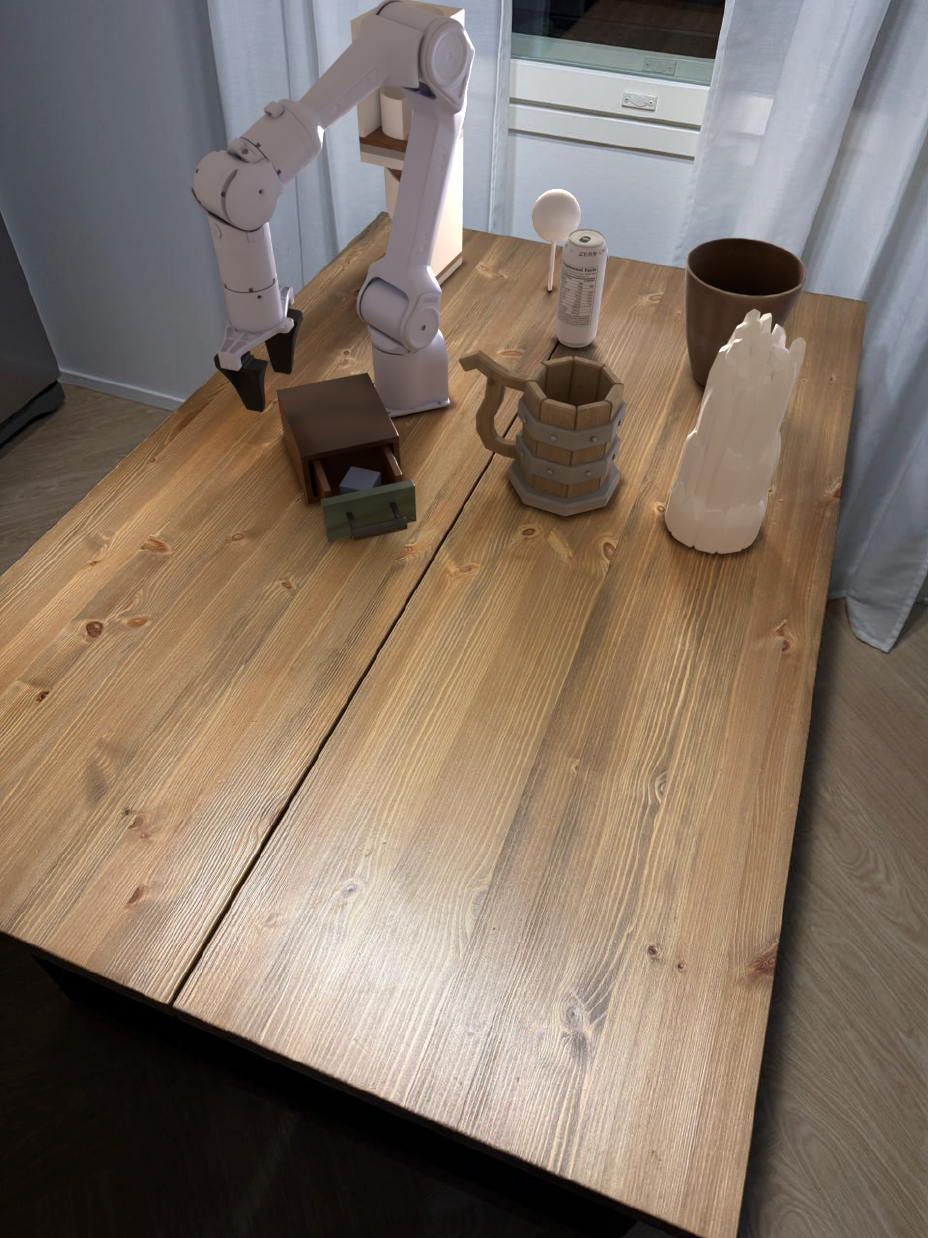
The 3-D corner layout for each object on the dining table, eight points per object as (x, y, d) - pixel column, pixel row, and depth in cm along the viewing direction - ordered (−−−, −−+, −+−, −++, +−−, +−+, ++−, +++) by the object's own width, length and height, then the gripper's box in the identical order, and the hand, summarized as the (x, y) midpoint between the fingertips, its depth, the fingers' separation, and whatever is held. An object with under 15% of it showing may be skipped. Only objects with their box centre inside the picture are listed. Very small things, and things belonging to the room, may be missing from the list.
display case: (404, 248, 147) (393, -3, 120) (462, 262, 144) (464, 8, 117) (369, 279, 140) (350, 20, 114) (429, 295, 137) (424, 33, 111)
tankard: (628, 464, 111) (648, 358, 99) (595, 527, 103) (612, 420, 92) (482, 422, 116) (485, 317, 105) (440, 479, 109) (438, 372, 97)
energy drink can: (603, 335, 130) (617, 234, 119) (582, 354, 127) (595, 252, 115) (567, 322, 132) (578, 222, 121) (546, 340, 129) (555, 239, 118)
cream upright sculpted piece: (758, 560, 100) (829, 367, 81) (662, 546, 101) (710, 352, 82) (757, 497, 107) (822, 306, 88) (667, 485, 108) (712, 293, 89)
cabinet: (401, 483, 108) (399, 436, 103) (308, 504, 105) (300, 456, 100) (371, 419, 116) (367, 372, 111) (284, 436, 114) (275, 389, 108)
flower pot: (750, 420, 117) (785, 308, 105) (646, 384, 122) (667, 274, 110) (787, 365, 125) (822, 256, 113) (688, 334, 130) (712, 227, 118)
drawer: (427, 544, 100) (426, 509, 96) (337, 566, 97) (332, 530, 93) (386, 455, 110) (383, 420, 106) (303, 473, 108) (297, 437, 104)
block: (342, 509, 102) (338, 485, 99) (353, 490, 104) (351, 465, 101) (371, 516, 101) (369, 492, 98) (382, 496, 103) (380, 471, 101)
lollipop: (573, 279, 141) (583, 181, 129) (572, 302, 136) (582, 203, 125) (528, 276, 141) (534, 179, 130) (525, 299, 136) (532, 200, 125)
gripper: (254, 320, 87) (275, 433, 97) (312, 252, 96) (326, 361, 107) (189, 309, 88) (216, 421, 99) (252, 242, 98) (271, 352, 108)
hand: (269, 390), depth 103 cm, fingers open, 7 cm apart
